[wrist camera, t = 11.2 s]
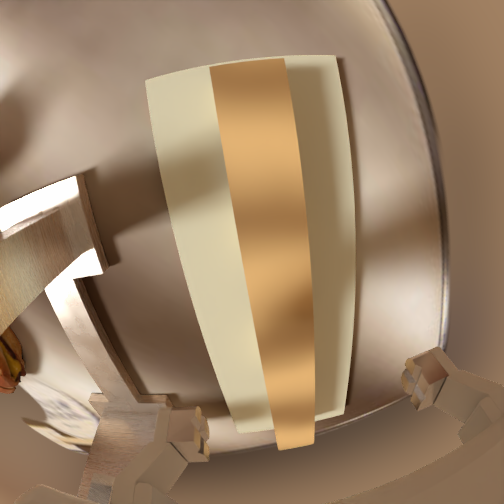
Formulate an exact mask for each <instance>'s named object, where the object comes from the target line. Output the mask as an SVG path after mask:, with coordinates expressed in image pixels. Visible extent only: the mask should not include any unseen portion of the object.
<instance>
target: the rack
mask: <svg viewBox="0 0 504 504" xmlns="http://www.w3.org/2000/svg"><path fill="white" fill-rule="evenodd" d="M0 227H1V230H2V231H1V232H0V336H1V334H2V333H3V332H4V331H5V330H6V329H7V328H8V326H9V325H10V324H11V323H12V322H13V321H14V320H15V319H16V318H17V317H18V316H19V314H20V313H21V312H22V311H23V310H24V309H25V308H26V307H27V306H28V305H29V304H30V303H31V302H32V301H33V300H34V299H35V298H36V297H37V296H38V295H39V294H40V293H41V292H42V291H43V290H44V289H45V291H46V293H47V295H48V298H49V300H50V302H51V304H52V306H53V308H54V311H55V313H56V315H57V317H58V319H59V321H60V323H61V325H62V327H63V329H64V330H65V332H66V334H67V336H68V338H69V340H70V342H71V343H72V345H73V347H74V349H75V350H76V352H77V354H78V355H79V357H80V359H81V360H82V362H83V364H84V365H85V367H86V369H87V370H88V372H89V373H90V375H91V376H92V378H93V379H94V381H95V382H96V384H97V385H98V387H99V388H100V390H101V391H102V393H103V394H94V393H91V396H90V398H89V400H88V401H89V402H90V404H91V405H92V406H93V407H94V409H95V410H96V411H97V412H98V414H99V415H100V416H101V419H100V422H99V425H98V428H97V431H96V434H95V437H94V440H93V443H92V446H91V449H90V453H89V456H88V459H87V463H86V466H85V469H84V473H83V477H82V480H81V484H80V488H79V492H78V495H77V497H79V498H82V499H86V500H89V501H93V502H97V503H100V504H109V499H110V493H111V488H112V486H113V484H114V479H115V477H116V476H117V475H118V474H119V473H120V472H121V471H122V470H123V469H124V468H125V467H126V466H127V465H128V464H129V463H130V462H131V461H132V460H133V459H134V458H135V457H136V456H137V455H138V454H139V453H140V451H141V450H142V449H143V448H144V447H145V446H146V445H147V444H148V443H149V442H153V438H154V432H155V426H156V420H157V414H158V411H159V409H160V408H164V407H174V406H173V405H172V403H171V401H170V400H169V398H168V396H167V395H140V393H139V392H138V390H137V388H136V387H135V385H134V384H133V382H132V380H131V379H130V377H129V375H128V373H127V372H126V370H125V368H124V366H123V365H122V363H121V361H120V359H119V357H118V356H117V354H116V352H115V350H114V348H113V346H112V344H111V342H110V340H109V338H108V336H107V334H106V332H105V330H104V328H103V326H102V324H101V322H100V320H99V318H98V316H97V313H96V311H95V309H94V307H93V304H92V302H91V300H90V297H89V295H88V293H87V290H86V288H85V285H84V283H83V280H82V278H81V277H87V276H93V275H99V274H103V273H104V272H105V271H106V270H107V269H108V268H109V265H108V262H107V259H106V256H105V253H104V250H103V246H102V243H101V240H100V237H99V233H98V230H97V226H96V223H95V219H94V216H93V212H92V208H91V204H90V200H89V196H88V192H87V188H86V183H85V179H84V174H81V175H77V176H74V177H71V178H68V179H66V180H63V181H61V182H58V183H55V184H53V185H50V186H48V187H46V188H43V189H41V190H38V191H36V192H34V193H32V194H29V195H27V196H25V197H23V198H20V199H18V200H16V201H14V202H12V203H10V204H8V205H6V206H4V207H2V208H0Z"/></svg>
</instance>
